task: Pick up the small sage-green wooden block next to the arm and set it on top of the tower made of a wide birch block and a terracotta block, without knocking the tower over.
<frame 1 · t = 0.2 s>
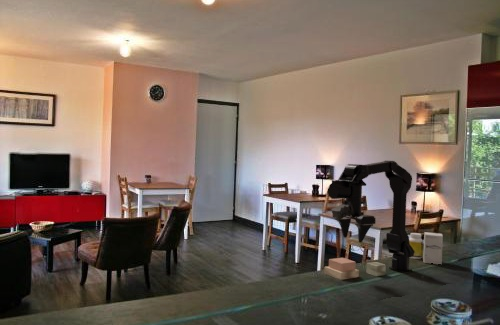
hand: (352, 239, 155), 14 cm above the table, tool pointing down, fingers open, 9 cm apart
pill bottle: (415, 258, 191), on the table
terracotta block: (341, 268, 158), point 3 cm above the table
supplement box: (432, 262, 183), on the table
birch block: (341, 276, 158), on the table
sage block: (375, 274, 161), on the table
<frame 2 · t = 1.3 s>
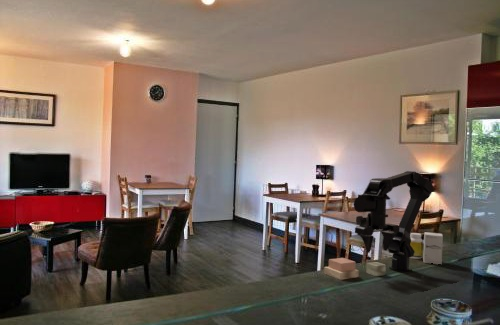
hand: (376, 251, 161), 9 cm above the table, tool pointing down, fingers open, 9 cm apart
terracotta block: (341, 268, 158), point 2 cm above the table, touching birch block
birch block: (341, 276, 158), on the table, touching terracotta block
everything else where it was.
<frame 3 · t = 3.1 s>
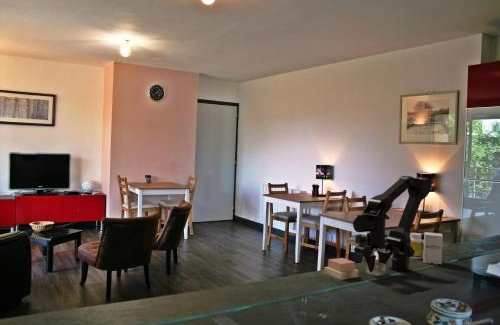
hand: (375, 271, 161), 1 cm above the table, tool pointing down, fingers closed on sage block, 5 cm apart
terracotta block: (341, 268, 158), point 2 cm above the table
birch block: (341, 276, 158), on the table
sage block: (375, 273, 161), on the table, touching gripper
everything else where it was.
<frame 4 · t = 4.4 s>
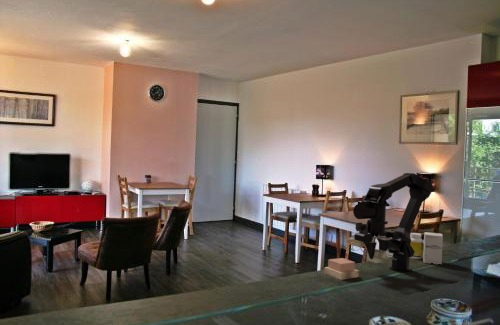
hand: (376, 258, 161), 6 cm above the table, tool pointing down, fingers closed on sage block, 5 cm apart
sage block: (376, 261, 161), point 5 cm above the table, touching gripper
everything else where it was.
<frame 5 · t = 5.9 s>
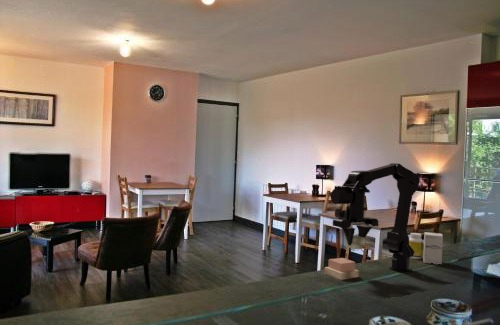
hand: (354, 244, 159), 11 cm above the table, tool pointing down, fingers closed on sage block, 5 cm apart
terracotta block: (341, 268, 158), point 2 cm above the table, touching birch block
birch block: (341, 276, 158), on the table, touching terracotta block
sage block: (354, 247, 159), point 10 cm above the table, touching gripper
everything else where it was.
when the fingers open (8 cm above the table, at t = 8.0 s): sage block drops 2 cm, resting on terracotta block.
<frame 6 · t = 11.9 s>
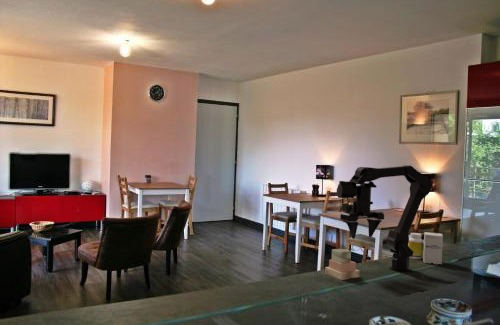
hand: (361, 237, 165), 13 cm above the table, tool pointing down, fingers open, 9 cm apart
terracotta block: (342, 269, 157), point 2 cm above the table, touching birch block, sage block
sage block: (340, 260, 157), point 5 cm above the table, touching terracotta block
everything else where it was.
at the end: sage block 0.7 cm off-centre on the terracotta block, point 3.0 cm above the terracotta block's base; sage block tilted 0°; terracotta block moved 1.0 cm from its start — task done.
